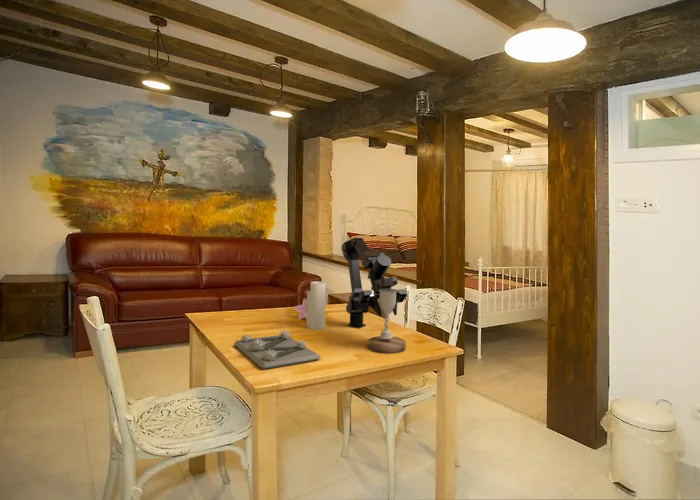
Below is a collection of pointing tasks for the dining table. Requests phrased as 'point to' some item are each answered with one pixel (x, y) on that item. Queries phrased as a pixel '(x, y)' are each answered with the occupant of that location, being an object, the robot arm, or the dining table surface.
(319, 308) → the vase
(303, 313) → the lily
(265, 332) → the dining table surface
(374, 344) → the walnut pedestal
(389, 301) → the chalice
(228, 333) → the dining table surface
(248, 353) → the decorative plate
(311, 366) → the dining table surface
